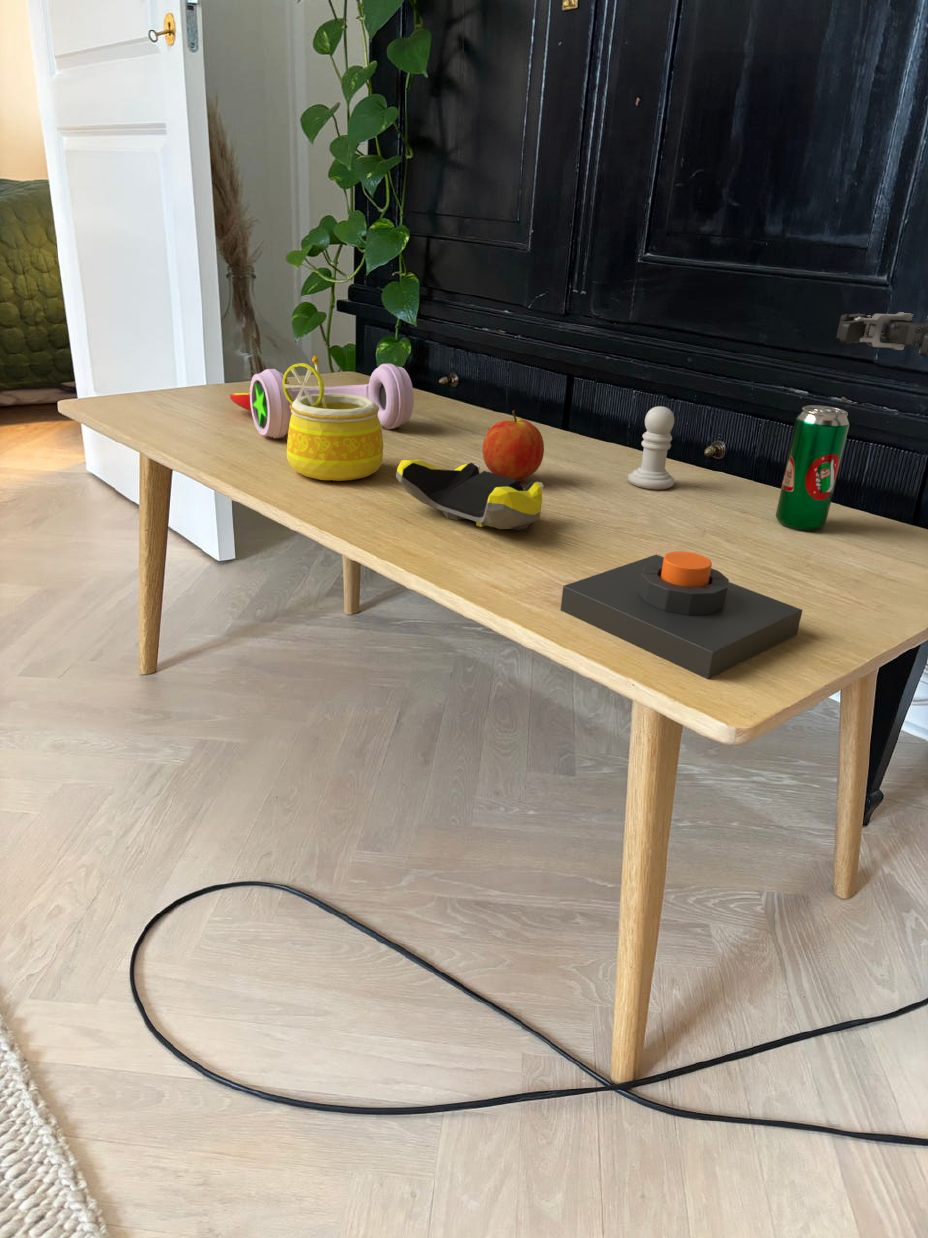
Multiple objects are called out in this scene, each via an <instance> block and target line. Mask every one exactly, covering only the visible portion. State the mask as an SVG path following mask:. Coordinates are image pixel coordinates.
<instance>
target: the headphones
mask: <svg viewBox="0 0 928 1238" xmlns="http://www.w3.org/2000/svg"><path fill="white" fill-rule="evenodd" d="M283 377H284V373H283V372H280V371H278V370H277V369H275V368H267V369H264V370H263V371H261V372H259V373H254V375H253V376H252V378H251V381H250V384H249V386H250V387H249V392H235V393H233V394H229V399H230V400H231V402H233V403H234V404H236V405H237V406H239V407H241V408H242V409H244V410H247V411H249V412H251V417H252V420H253V423H254V426H255V428H256V431H257V432H258V434H260V435H261V436H266V437H270V438H272V437H273V438H272V439H282V438H284V437H285V436H286V435H288V431H289V423H290V418H291V415H292V412H291V409H290V405H291V403H290V401H289V400H288V399H287V398H286V396H285V394H284V390H283V384H282V382H283ZM287 383H288V384H290V382H289V380H288V379H287ZM287 389H288V393H289V395H290V396H291V398H292V399H293V400H294V401H295V399H296V397H297V395H298V394H299V392H300V390H301V391H302V389H301V387H294V388H287ZM306 390H307V391H308V393H309V394H310V395H311V394H320V391H319V390H316V389H310V388H306V389H305V388H304V390H303V392H302V395H301V397H303V396H306V394H305V392H306V393H307V391H306ZM304 391H305V392H304ZM300 393H301V392H300ZM324 393H338V394H350V395H357V396H362V397H366V398H368V399H370V400H372V401H373V402H375V403H376V405H378V407H379V412H378V419H379V421H380V424H381V427H384V428H385V429H387V430H392V429H397V428H399V427H400V426H401V425H405V424H407V423H408V422H409V421H410V420H411V418H412V415H413V410H414V405H415V404H414V403H415V402H414V401H415V397H414V395H415V394H414V387H413V383H412V380H411V377H410V375H409V373H408V372H407V370H406V369H405V368H403V367H401V366H397V365H394V364H393V363H382V364H380V365H379V366H377V368H375V369H374V370H373V372H372V373H371V375H370V377H369V381H368V384H367V383H366V384H365V383H364V384H351V385H349V384H348V385H333V386H331V385H330V386H324ZM307 395H308V394H307Z"/></svg>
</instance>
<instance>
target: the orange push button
mask: <svg viewBox="0 0 928 1238" xmlns="http://www.w3.org/2000/svg"><path fill="white" fill-rule="evenodd" d="M663 557H664V560H663V566H662V572H661V579H662V580H664V581H666V582H669V583H671V584H674V585H679V586H685V587H704V586H707V585H708V582H709V577H710V572H711V568H712V567H713V562H712V561H711V559H709V558H708V557H706V556H705V555H703V554H699V553H695V552H691V551H679V550H678V551H670V552H667V553H666V554H664V556H663Z"/></svg>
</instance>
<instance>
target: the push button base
mask: <svg viewBox="0 0 928 1238" xmlns="http://www.w3.org/2000/svg"><path fill="white" fill-rule="evenodd" d="M663 560H664V556H661V555H658V554H653V555H651V556H648V557H645V558H644V557H643V558H642V559H639V560H636V561H633V562H630V563H627V564H623V565H621V566H618V567H615V568H612V569H609V570H606V571H603V572H600V573H597V574H595V575H591V576H589V577H586V578H585V577H584V578H582V579H580V580H576V581H574V582H570V583H568V584H565V585H563V586H562V593H561V600H560V601H561V603H560V611H561V612H563V613H565V614H567V615H570V616H572V617H574V618H576V619H578V620H580V621H583V622H584V623H586V624H589V625H591V626H593V627H595V628H597V629H599V630H601V631H603V632H606V633H608V634H610V635H612V636H614V637H616V638H618V639H621V640H623V641H625V642H627V643H629V644H631V645H633V646H635V647H637V648H640V649H642V650H644V651H646V652H648V653H650V654H652V655H655V656H657V657H659V658H661V659H662V660H665V661H667V662H669V663H671V664H674V665H676V666H678V667H680V668H682V669H684V670H686V671H688V672H691V673H692V674H695V675H697V676H699V677H700V678H704V679H706V680H710V679H713V678H714V677H716V676H718V675H720V674H722V673H724V672H726V671H728V670H730V669H732V668H734V667H736V666H739V665H741V664H742V663H745V662H746V661H748V660H750V659H752V658H754V657H756V656H758V655H760V654H762V653H763V652H766V651H768V650H770V649H772V648H773V647H776V646H778V645H780V644H783V643H784V642H786V641H788V640H790V639H791V638H794V637H795V636H797V635H798V632H799V627H800V623H801V620H802V619H801V618H802V614H803V609H802V608H799V607H796V606H794V605H791V604H788V603H786V602H783V601H780V600H778V599H775V598H772V597H770V596H767V595H764V594H762V593H760V592H757V591H754V590H752V589H749V588H747V587H743V586H741V585H738V584H735V583H734V582H730V579H729V578H728V577H726V575H724V574H723V573H722V572H720V571H719V570H717V569H715V568H712V567H711V572H710V577H709V582H708V585H707V586H704V587H685V586H679V585H674V584H671V583H669V582H666V581H664V580H662V579H661V572H662V566H663Z"/></svg>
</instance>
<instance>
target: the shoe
mask: <svg viewBox="0 0 928 1238" xmlns="http://www.w3.org/2000/svg"><path fill="white" fill-rule="evenodd" d="M395 478H396V479H397V480H398V482H399V483H400V485H401V486H402V487H403V488H404V490H405V491H406V493H408V494H409V495H410V496H412V497H413V498H415V499H416V500H418V501H419V502H420V503H422V504H424V505H427V506H429V507H432V508H435V509H436V510H439V511H442V513H443V516H444V517H446V518H447V519H448V520H455V521H461V520H466V519H467V520H470V521H473V522H476V524H475V525H476V526H477V527H480V528H483V527H486V526H487V527H490V528H496V529H498V530H509V529H510V530H516V531H520V530H526V529H527V528H528V527H529V525H530V524H532V523H535V522H537V521H538V520H539V519H540V518H541V514H542V513H541V512H542V504H543V489H544V484H543V483H542V481H541V482H540V481H532V482H529V483H528V484H527V486H526V487H525V488H523V486H522V484H520V481H517V480H514V479H511V478H507V477H504V476H500V475H497V474H493V473H492V472H491V471H486V470H483V471H481V466H480V465H479V464H477V463H473V462H469V463H465V464H462V465H460V466H458V467H456V468H455V469H454V470H453V469H442V468H440V467H438V466H435V465H432V464H430V463H429V462H425V461H423V460H420V459H402V460H400V462H399V465H398V466H397V469H396V473H395Z"/></svg>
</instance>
